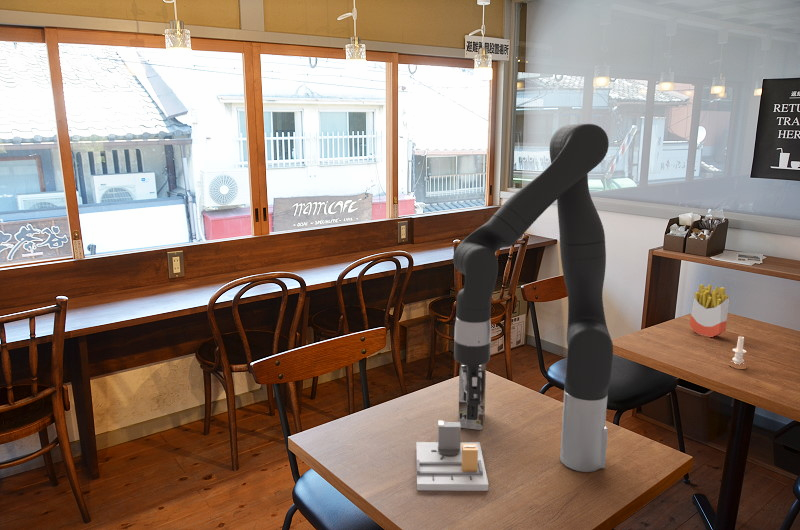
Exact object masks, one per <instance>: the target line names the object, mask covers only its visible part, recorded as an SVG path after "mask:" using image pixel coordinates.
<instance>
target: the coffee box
mask: <svg viewBox="0 0 800 530" xmlns="http://www.w3.org/2000/svg"><path fill="white" fill-rule="evenodd" d="M462 365H463V364H461V363H460V364H459V379H458V380H459V384H458V386H459V387H458V388H459V389H458V416H457V417H458V418H457V419H458V421H457V422H460V426H461V429H470V430H478V431H479V430H480V431H481V430H483V427H484V420H485V413H486V412H485V411H486V409H485V408H486V382H487V381H486V380H487V379H486V378H487V376H486V375H487V374H486V373H487V363H485V364H482V365H480V370H482V377H481V391H480V401H481V403H480V405H478V418H477V420H468V419H467V402H466V401H464V398H463V396H464V384H463V379H462V369H461V366H462ZM474 398H476V394H474Z"/></svg>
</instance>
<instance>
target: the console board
mask: <svg viewBox="0 0 800 530" xmlns="http://www.w3.org/2000/svg"><path fill="white" fill-rule="evenodd" d="M415 443H416V447H415V448H416V490H417V491H446V492H447V491H448V492H449V491H453V492H454V491H455V492H456V491H458V492H460V491H461V492H463V491H469V492H472V491H474V492H476V491H477V492H478V491H479V492H482V491H484V492H487V491H489V479H488V475H487V472H486V470H487V469H486V467H485V466H486V465H485V462H484V461H485V460H484V456H483V452H482V448H481V443H480V442H479V441H478V442H477V441H476V442H474V441H473V442H471V441H470V442H467V441H465V442H461V441H460V453H459V454H457V455H455V456H445V455H442V454H440V453H439V452H438V441H432V442H431V441H416V442H415ZM462 444H477V448H478V465H477V472H463V471H462Z"/></svg>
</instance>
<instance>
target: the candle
mask: <svg viewBox="0 0 800 530" xmlns="http://www.w3.org/2000/svg"><path fill="white" fill-rule="evenodd" d="M737 338H738V339H737V344H736V347H735V348H732V352H734V357H732V362H734V363H735V364H739V365H740V364H741V363H744V362H745V360H744V359H743V357H744V354H745V353H747V350H745V349H744V342H745V337H744V336H743V335H739V336H738V337H737Z"/></svg>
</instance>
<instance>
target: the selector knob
mask: <svg viewBox="0 0 800 530" xmlns="http://www.w3.org/2000/svg"><path fill="white" fill-rule="evenodd" d="M437 424H438V425H437V442H438V452H439V453H440V454H442V455H445V456H455V455H457V454H459V453H460V442H461V437H462V435H461V431H462V428H461V426H460V422H458V421H444V420H440V419H439V420H438V422H437Z"/></svg>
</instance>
